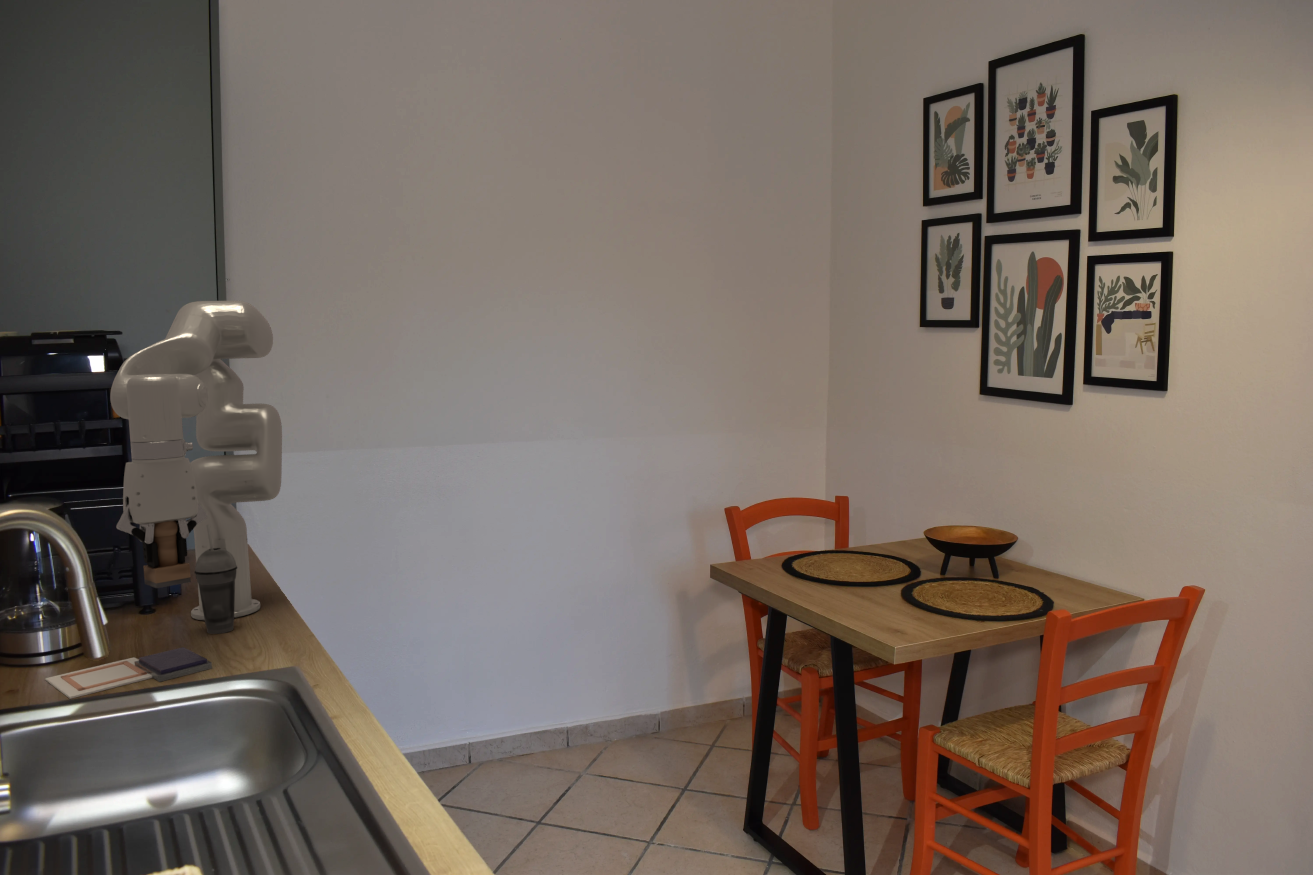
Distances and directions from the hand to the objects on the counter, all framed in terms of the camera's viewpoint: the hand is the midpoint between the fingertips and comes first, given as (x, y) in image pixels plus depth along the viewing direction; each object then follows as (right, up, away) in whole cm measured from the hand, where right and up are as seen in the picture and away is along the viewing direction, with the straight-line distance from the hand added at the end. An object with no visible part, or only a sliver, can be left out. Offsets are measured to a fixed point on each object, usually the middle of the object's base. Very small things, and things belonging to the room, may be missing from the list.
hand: (166, 563), depth 149 cm
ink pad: (0, -17, +1) cm, 17 cm away
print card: (-9, -18, -2) cm, 20 cm away
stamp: (0, -3, 0) cm, 3 cm away
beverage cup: (-2, -16, +22) cm, 28 cm away
